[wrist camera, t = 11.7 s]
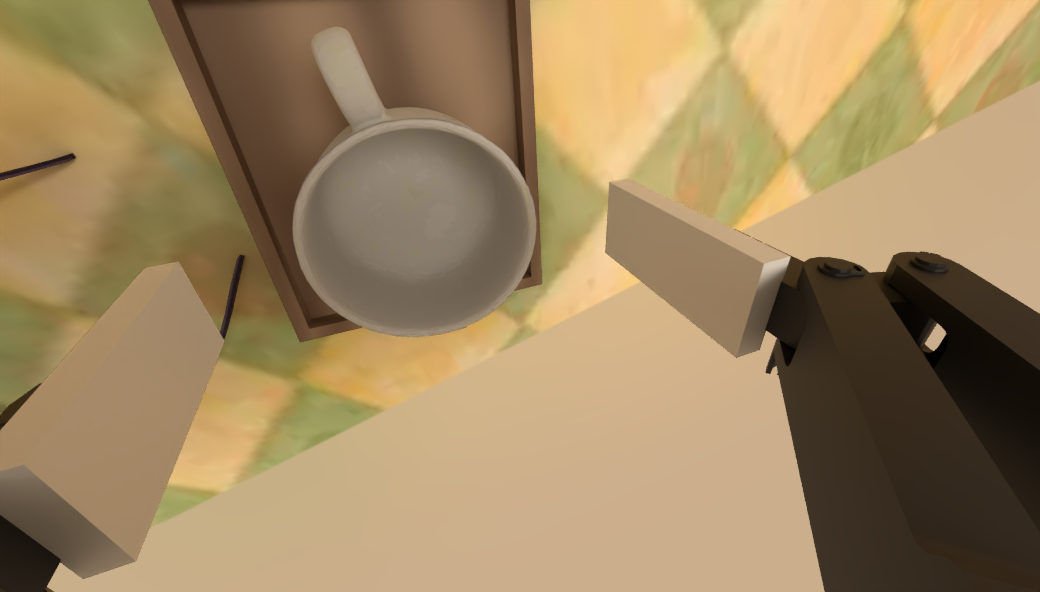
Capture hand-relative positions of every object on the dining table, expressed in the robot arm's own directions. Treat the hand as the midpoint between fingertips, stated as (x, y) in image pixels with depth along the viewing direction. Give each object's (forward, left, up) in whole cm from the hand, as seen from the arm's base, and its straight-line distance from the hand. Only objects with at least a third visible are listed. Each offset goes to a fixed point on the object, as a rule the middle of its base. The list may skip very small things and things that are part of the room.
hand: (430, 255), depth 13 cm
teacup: (0, 0, -14) cm, 14 cm away
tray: (0, 0, -14) cm, 14 cm away
